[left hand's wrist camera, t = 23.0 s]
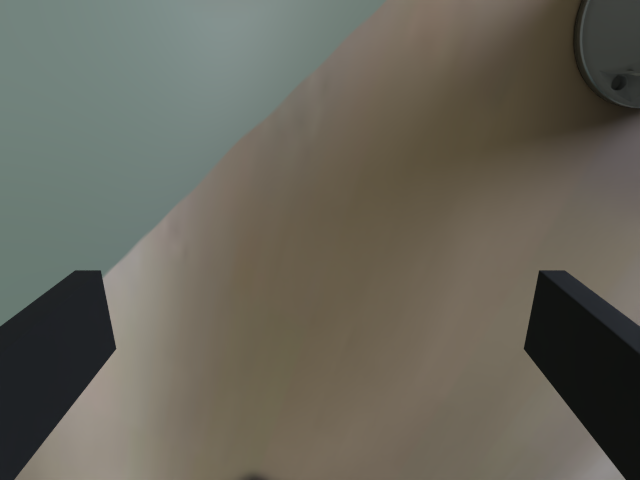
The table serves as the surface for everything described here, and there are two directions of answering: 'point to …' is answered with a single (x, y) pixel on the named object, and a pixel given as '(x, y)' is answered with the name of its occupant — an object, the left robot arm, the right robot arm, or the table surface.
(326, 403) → the table surface
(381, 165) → the table surface
